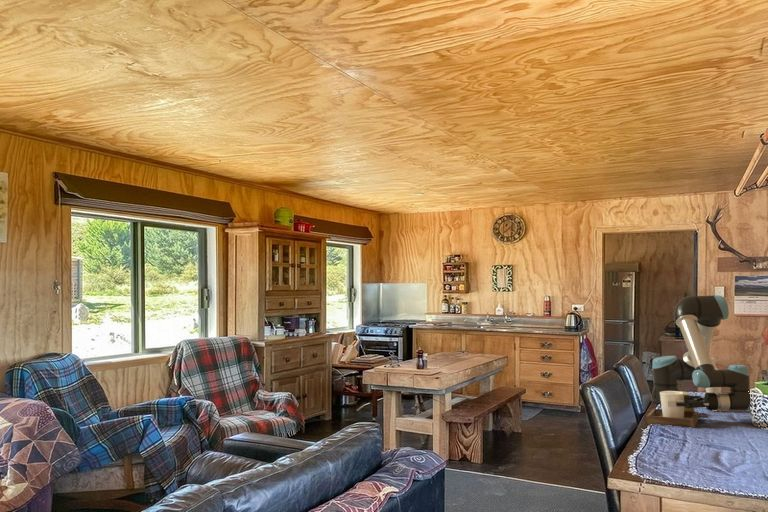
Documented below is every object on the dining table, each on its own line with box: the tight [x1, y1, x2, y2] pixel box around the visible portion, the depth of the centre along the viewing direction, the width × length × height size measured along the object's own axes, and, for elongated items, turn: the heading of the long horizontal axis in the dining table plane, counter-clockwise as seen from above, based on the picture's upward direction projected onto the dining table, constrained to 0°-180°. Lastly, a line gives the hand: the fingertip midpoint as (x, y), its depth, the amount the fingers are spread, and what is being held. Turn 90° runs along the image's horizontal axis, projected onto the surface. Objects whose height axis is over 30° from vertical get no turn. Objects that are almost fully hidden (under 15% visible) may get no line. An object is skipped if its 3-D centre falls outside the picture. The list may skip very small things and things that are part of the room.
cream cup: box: [660, 391, 684, 418], centre depth 259 cm, size 10×10×12 cm
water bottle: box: [705, 357, 723, 412], centre depth 282 cm, size 7×7×25 cm
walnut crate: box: [645, 408, 699, 429], centre depth 260 cm, size 18×18×4 cm
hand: (663, 401), depth 261 cm, fingers open, 13 cm apart
